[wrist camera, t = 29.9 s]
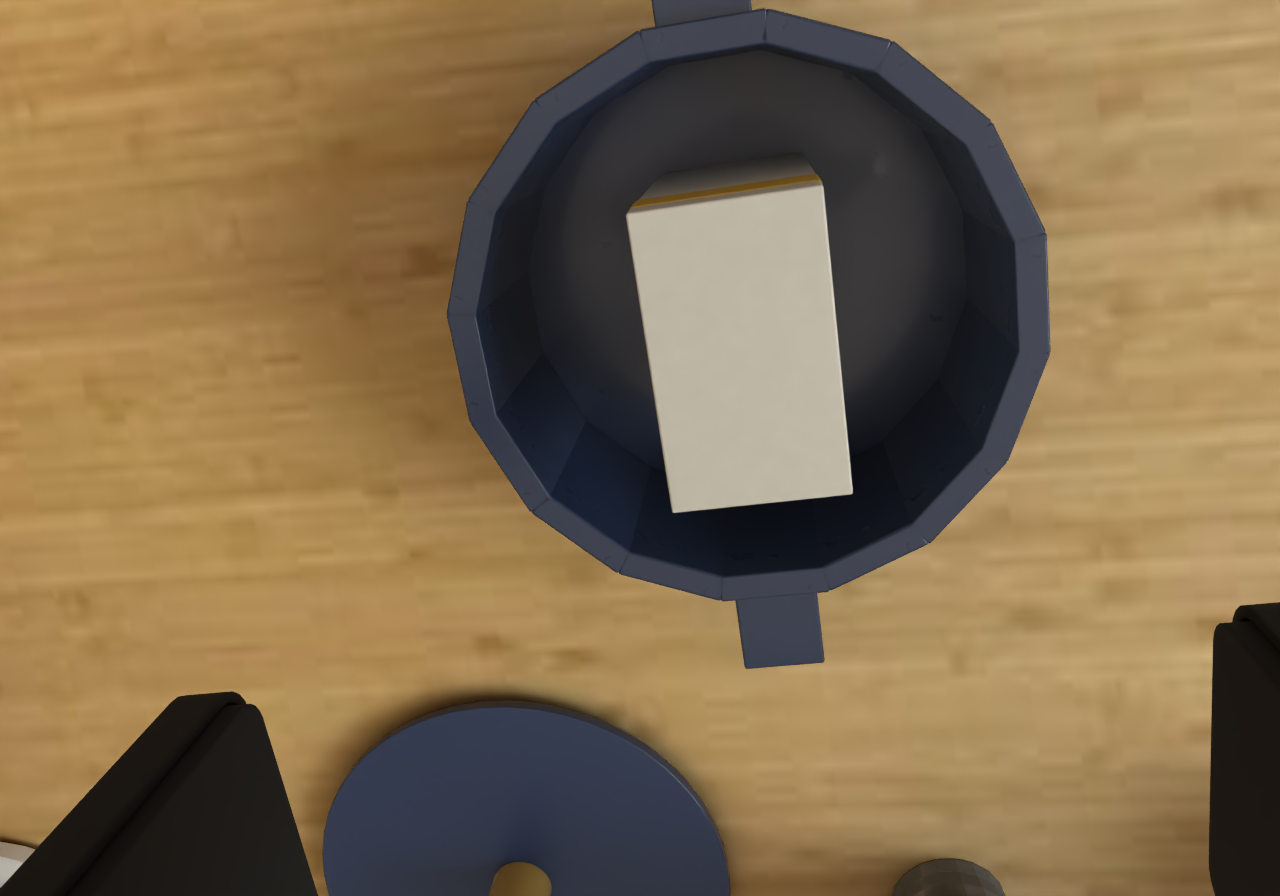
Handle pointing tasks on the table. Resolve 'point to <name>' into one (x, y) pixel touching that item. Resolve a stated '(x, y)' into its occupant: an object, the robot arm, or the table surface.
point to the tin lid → (518, 812)
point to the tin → (863, 292)
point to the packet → (742, 333)
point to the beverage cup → (948, 880)
